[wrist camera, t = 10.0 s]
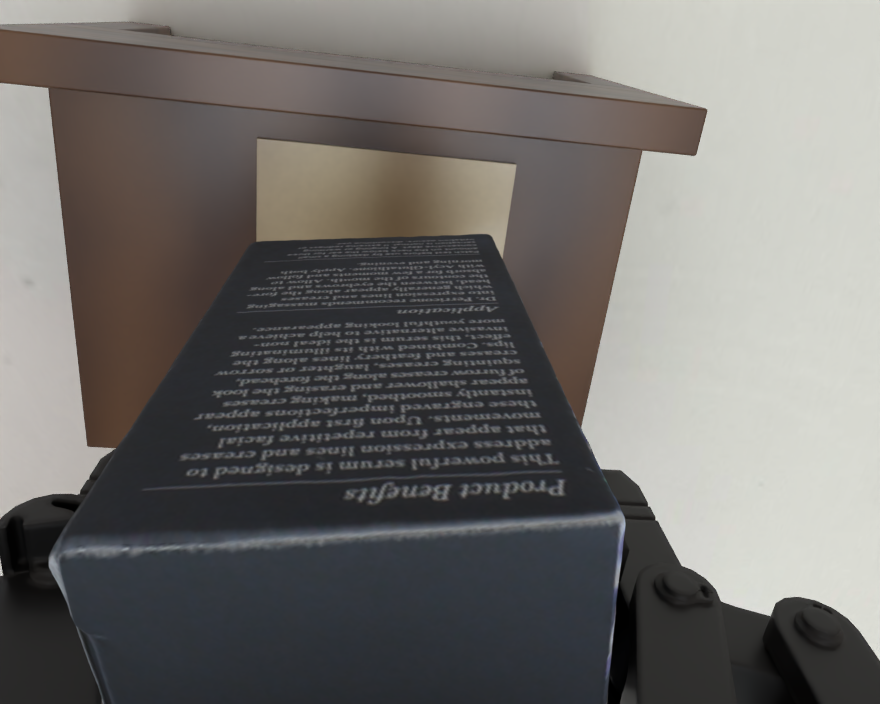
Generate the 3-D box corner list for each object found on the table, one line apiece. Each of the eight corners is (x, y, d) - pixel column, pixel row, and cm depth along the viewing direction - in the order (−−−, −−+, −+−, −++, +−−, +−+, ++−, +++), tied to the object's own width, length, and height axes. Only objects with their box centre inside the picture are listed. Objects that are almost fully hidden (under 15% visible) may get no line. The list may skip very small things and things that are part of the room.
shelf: (148, 358, 33) (37, 517, 22) (126, 21, 27) (-36, 25, 17) (535, 384, 35) (599, 541, 24) (592, 75, 29) (708, 109, 19)
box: (494, 507, 20) (588, 979, 10) (283, 518, 19) (175, 1013, 10) (498, 224, 16) (645, 525, 7) (243, 233, 16) (18, 559, 6)
